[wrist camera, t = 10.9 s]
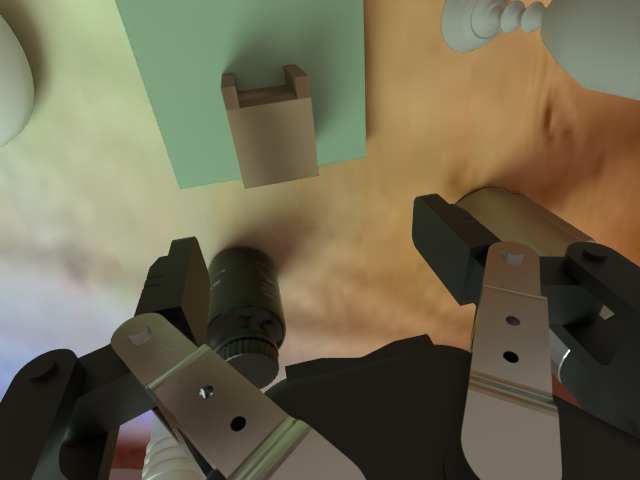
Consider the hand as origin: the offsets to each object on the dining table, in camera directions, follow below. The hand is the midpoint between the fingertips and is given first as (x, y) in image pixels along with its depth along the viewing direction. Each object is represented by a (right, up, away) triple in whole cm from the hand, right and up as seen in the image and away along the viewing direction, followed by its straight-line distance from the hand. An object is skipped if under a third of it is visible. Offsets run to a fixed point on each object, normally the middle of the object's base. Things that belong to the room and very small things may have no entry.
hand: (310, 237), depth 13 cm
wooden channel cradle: (-3, +8, +13) cm, 16 cm away
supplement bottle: (-8, -3, +23) cm, 24 cm away
